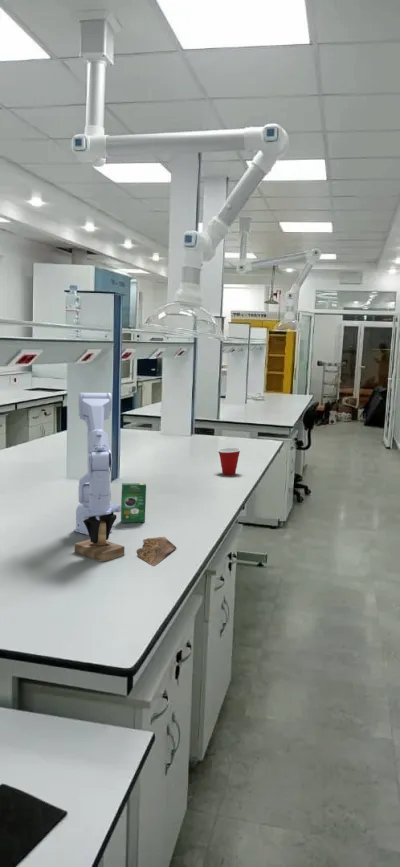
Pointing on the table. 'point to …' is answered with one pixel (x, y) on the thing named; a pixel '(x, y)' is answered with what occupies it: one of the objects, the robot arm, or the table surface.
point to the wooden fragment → (155, 550)
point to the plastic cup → (229, 460)
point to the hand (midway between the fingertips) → (99, 540)
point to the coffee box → (133, 502)
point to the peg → (101, 536)
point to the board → (99, 550)
